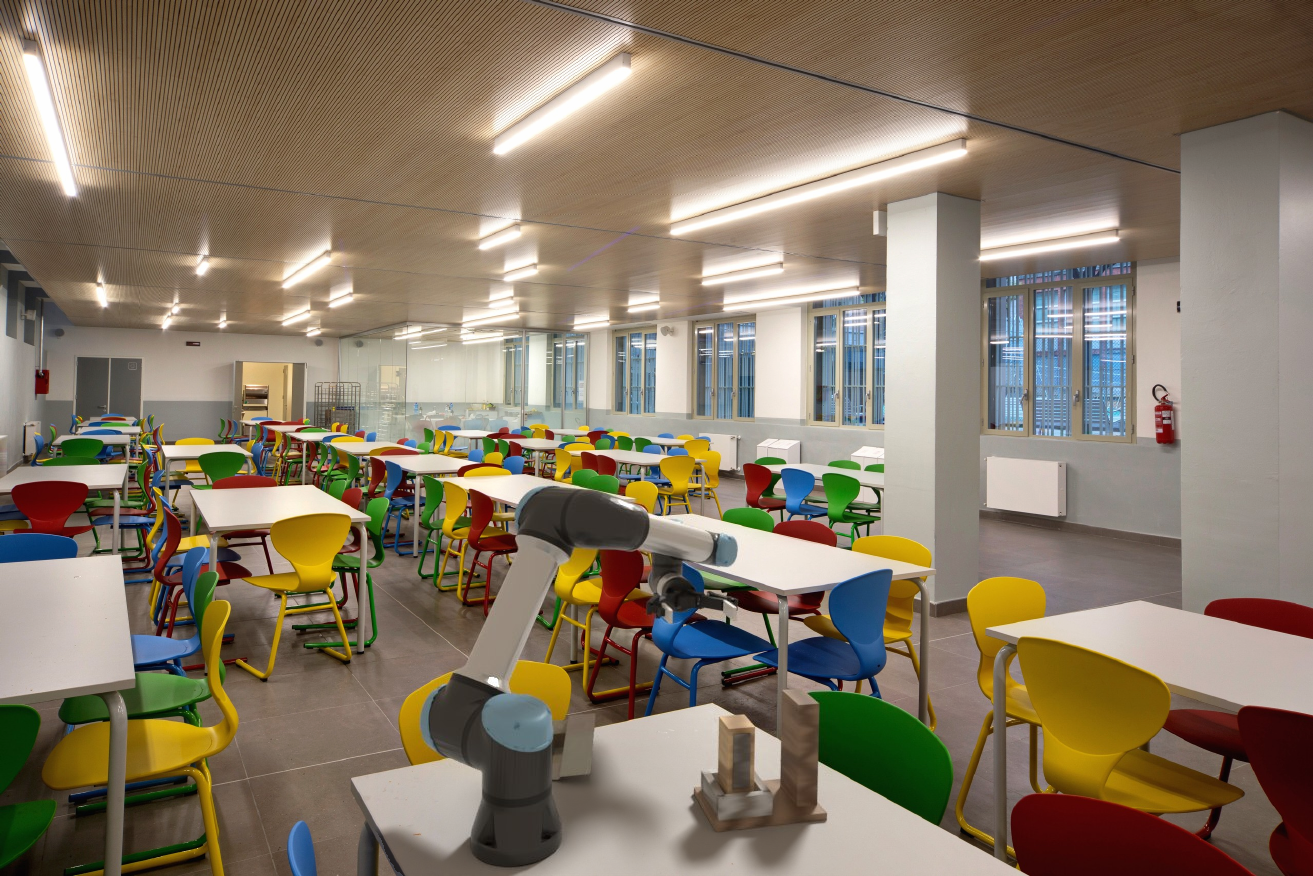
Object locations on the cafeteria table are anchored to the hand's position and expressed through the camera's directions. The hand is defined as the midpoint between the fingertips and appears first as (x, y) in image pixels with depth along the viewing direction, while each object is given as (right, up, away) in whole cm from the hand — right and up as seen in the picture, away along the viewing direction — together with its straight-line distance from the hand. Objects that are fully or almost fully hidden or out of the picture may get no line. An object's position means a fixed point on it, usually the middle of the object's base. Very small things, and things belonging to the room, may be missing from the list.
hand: (703, 615), depth 155 cm
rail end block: (+5, -31, -14) cm, 35 cm away
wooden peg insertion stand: (+9, -32, -13) cm, 36 cm away
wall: (-30, -32, +1) cm, 44 cm away
